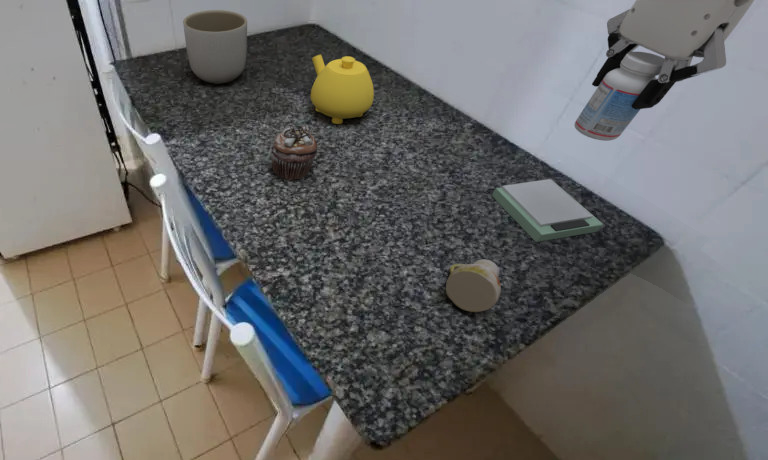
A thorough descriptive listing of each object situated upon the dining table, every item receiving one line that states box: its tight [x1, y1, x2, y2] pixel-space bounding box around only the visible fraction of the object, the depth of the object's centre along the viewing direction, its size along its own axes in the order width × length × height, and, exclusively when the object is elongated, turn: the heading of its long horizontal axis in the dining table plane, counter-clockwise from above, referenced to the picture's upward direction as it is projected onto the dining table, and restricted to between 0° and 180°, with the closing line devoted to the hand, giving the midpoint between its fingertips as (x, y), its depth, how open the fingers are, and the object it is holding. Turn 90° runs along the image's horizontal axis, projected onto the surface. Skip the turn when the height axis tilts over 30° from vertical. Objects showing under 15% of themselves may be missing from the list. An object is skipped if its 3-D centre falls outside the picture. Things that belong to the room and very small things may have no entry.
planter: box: [182, 9, 248, 85], centre depth 109 cm, size 17×17×15 cm
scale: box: [491, 178, 604, 243], centre depth 75 cm, size 13×13×3 cm
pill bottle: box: [574, 51, 665, 142], centre depth 56 cm, size 6×6×11 cm
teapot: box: [309, 54, 375, 125], centre depth 98 cm, size 20×16×14 cm
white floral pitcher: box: [445, 258, 502, 313], centre depth 60 cm, size 8×10×10 cm
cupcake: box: [269, 124, 318, 181], centre depth 81 cm, size 10×10×10 cm
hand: (621, 94), depth 56 cm, fingers closed on pill bottle, 6 cm apart
